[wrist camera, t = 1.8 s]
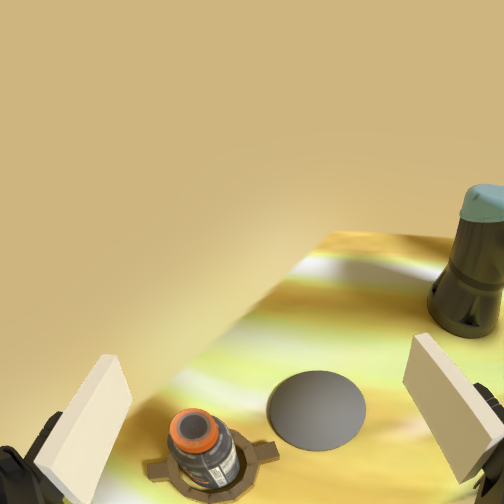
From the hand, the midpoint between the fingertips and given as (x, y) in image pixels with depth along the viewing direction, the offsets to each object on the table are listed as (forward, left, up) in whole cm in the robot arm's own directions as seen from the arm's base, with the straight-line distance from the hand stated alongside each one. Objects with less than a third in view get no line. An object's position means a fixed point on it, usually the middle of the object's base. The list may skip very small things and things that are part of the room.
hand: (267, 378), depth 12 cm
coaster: (-9, -9, -23) cm, 27 cm away
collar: (+5, -5, -23) cm, 24 cm away
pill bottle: (+5, -5, -24) cm, 25 cm away
